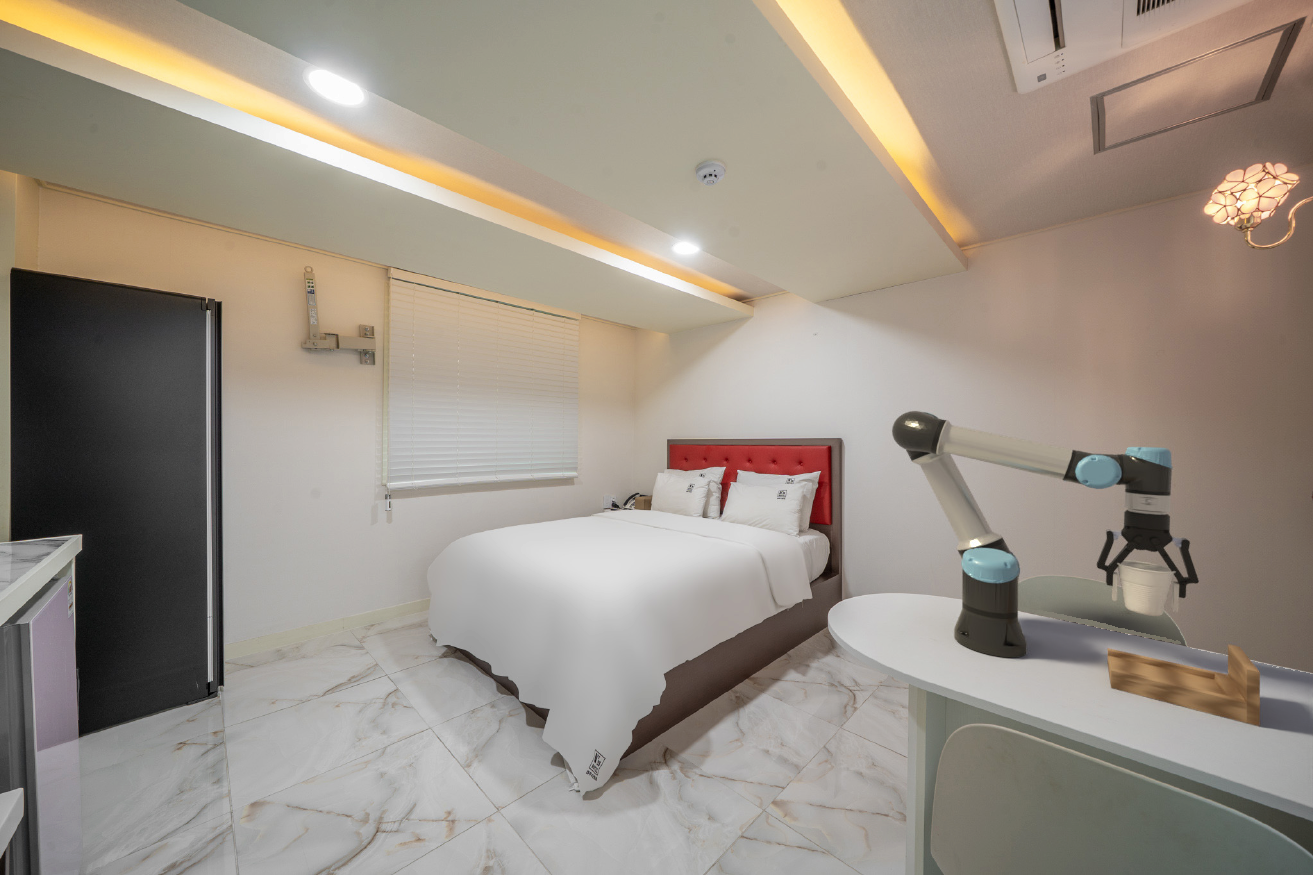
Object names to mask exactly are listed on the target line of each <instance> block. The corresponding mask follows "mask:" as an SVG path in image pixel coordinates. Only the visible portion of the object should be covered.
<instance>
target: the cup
mask: <svg viewBox="0 0 1313 875" xmlns="http://www.w3.org/2000/svg"><path fill="white" fill-rule="evenodd" d="M1117 564H1118V565H1119V566H1118V568H1117V570H1118V576H1119V580H1120V585H1121V590H1122V596H1123V601H1124V607H1125V608H1126V609H1127V610H1129V611H1131V612H1133V613H1136V614H1140V615H1145V616H1150V617H1160V616H1161V615H1163V613H1164V611H1165V610H1164V609H1165V607H1166V602H1167V598H1168V595H1169V592H1170V589H1171V587H1172V586H1171V585H1172V581H1173V579H1174V573H1175V571H1171V570H1170V568H1169V567H1168V566H1167V565H1162V564H1157V563H1153V562H1146V561H1138V560H1129V559H1128V560H1126V559H1125V560H1124V561H1123V562H1122V563H1121V564H1120V563H1117Z"/></svg>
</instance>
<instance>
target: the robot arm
mask: <svg viewBox="0 0 1313 875" xmlns="http://www.w3.org/2000/svg"><path fill="white" fill-rule="evenodd" d="M892 424H893V425H892V428H891V433H892V437H893V440H894V442H895V443H896V444H897V445H898V446H899V447H900V448H902V449H903V450H905V451H906V453H907V454H908V457H909V459H910V460H911V462H912V463H913V464H916V465H919V467H920V468H921V470H922V472H923V474H924V476H925V478H926V480H927V481H928V484H929V486H930V487H931V489H932V491H933V494H934V495H935V497H936V499H937V501H938V503H939V504H940V506H941V508H942V510H943V512H944V514H945V517H946V518H947V520H948V522H949V524H950V526H951V528H952V529H953V532H954V533H955V535H956V538H957V540H958V544H957V546H956V550H957V552H958V554H959V556H960V558H961V568H962V569H961V570H962V574H961V575H962V580H961V581H962V582H961V583H962V590H961V591H962V592H961V593H962V594H961V595H962V596H961V597H962V598H961V599H962V600H961V602H962V603H961V604H962V605H961V606H962V607H961V610H960V614H959V616H958V619H957V621H956V623H955V626H954V631H953V632H954V633H953V635H954V639H955V641H956V640H957V641H956V642H958V643H959V644H960V645H962V646H963V647H966V648H968V649H970V650H972V651H975V652H978V653H981V654H986V655H989V656H996V657H1002V658H1020V657H1021V658H1022V657H1024V656H1026V655H1027V653H1028V643H1027V640H1026V637H1025V635H1024V632H1023V628H1022V627H1021V624H1020V622H1019V577H1020V574H1021V568H1020V563H1019V560H1018V559H1017V557H1016V555H1015V554H1014V552H1012V551H1011V550H1010V548H1009V546H1008V545H1007V543H1006V541H1005V539H1004V538H1003V536H1002V535H1001V534H999V533H997V532H994V531H992V528H991V527H990V525H989V522H988V521H987V518H986V517H985V515H984V514H983V511H982V510H981V508H980V506H979V504H978V502H977V500H976V499H975V497H974V495H973V493H972V491H971V489H970V487H969V486H968V484H967V482H966V480H965V478H964V476H963V475H962V473H961V471H960V469H959V467H958V466H957V464H956V462H955V459H954V458H953V456H952V455H955V456H959V457H964V458H968V459H970V460H971V459H972V460H976V461H980V462H985V463H989V464H994V465H997V466H1001V467H1007V468H1011V469H1015V470H1019V471H1024V472H1028V473H1032V474H1036V475H1040V476H1044V477H1050V478H1054V479H1059V480H1062V481H1064V482H1069V483H1075V484H1078V485H1082V486H1085V487H1087V488H1091V489H1096V490H1103V489H1107V488H1111V487H1113V486H1115V485H1116V486H1117V485H1118V486H1124V488H1125V490H1124V508H1125V509H1126V510H1125V511H1124V512H1123V514H1124V515H1123V528H1122V529H1121V530H1112V529H1106V530H1105V536H1106V537H1105V538H1106V540H1105V542H1104V544H1103V547H1102V548H1101V552H1100V553H1099V554H1100V555H1099V556H1098V559H1097V561H1096V568H1097V569H1099V570H1103V571H1104V572H1105V575H1106V576H1105V584H1106V585H1107V586H1109V587H1111V600H1112V601H1113V602H1114V601H1115V602H1118V578H1119V577H1118V576H1119V573H1118V572H1116V570H1118V566H1119V565H1118V564H1117V563H1120V564H1121V563H1122V562H1123V561H1124V560H1126V558H1127V557H1128V556H1129V555H1130V554H1131V553H1132V552H1133V551H1134V550H1136V551H1147V552H1151V553H1152V552H1153V553H1156V552H1157V553H1159V555H1160V556H1161V559H1163V561H1164V563H1166V566H1167V567H1169V568H1170V570H1171V571H1175V573H1174V575H1173V577H1175V579H1176V580H1177V581H1175V580H1172V582H1171V585H1172V586H1171V587H1172V588H1171V610H1172V611H1173V612H1174V613H1179V606H1180V605H1179V601H1180V600H1179V599H1185V598H1186V596H1187V585H1189V584H1198V583H1199V578H1198V574H1197V572H1196V569H1195V565H1194V562H1193V560H1192V556H1191V553H1190V550H1189V549H1190V544H1191V542H1190V540H1189V539H1188V538H1185V537H1181V538H1180V537H1176V536H1173V535H1172V534H1171V532H1170V529H1171V528H1170V527H1171V516H1170V515H1169V514H1168V513H1169V512H1171V495H1172V494H1171V492H1172V471H1173V466H1172V465H1173V463H1172V452H1171V450H1170V449H1168V448H1166V447H1160V446H1159V447H1152V446H1150V447H1149V446H1129V447H1127V448H1126V451H1125V453H1123V454H1118V453H1117V454H1113V453H1111V454H1109V453H1091V452H1086V451H1081V450H1076V449H1071V448H1066V447H1061V446H1056V445H1051V444H1048V443H1042V442H1038V441H1032V440H1026V439H1022V438H1018V437H1012V436H1008V435H1002V434H997V433H992V432H989V431H988V432H987V431H982V430H976V429H974V428H973V429H972V428H967V427H963V426H958V425H953V424H952V423H951V422H950V421H949V420H947V419H942V418H939V417H937V416H936V415H935V414H933V413H930V412H925V411H920V410H919V411H918V410H911V411H907V412H905V413H903V414H901V415H899V416H898V417H897V418H896V419H895V421H894V423H892ZM1120 536H1121V537H1122V538H1123V539H1124V540H1125V542H1126V544H1125V545H1124V546H1123V547H1122V549H1121V550H1120V551H1119V552H1118V554H1117V555H1116V556H1115V557H1114V558H1113V560H1111V562H1110V563H1109V564H1108V565H1107V564H1106V563H1107V560H1108V558H1109V556H1110V553H1111V550H1112V548H1113V545H1114V543H1115V542H1114V541H1115V540H1118V539H1119V537H1120ZM1171 542H1172V543H1174V545H1175V547H1177V548H1178V549H1179V552H1180V556H1181V559H1182V562H1183V565H1184V567H1185V571H1186V573H1187V576H1184V575H1182V573H1181V571H1180V570H1179V568H1178V567H1177V565H1176V564H1175V562H1174V561H1173V560H1172V558H1171V556H1170V555H1169V554H1168V552H1167V551H1166V550H1165V547H1167V546H1168V545H1169V544H1171Z"/></svg>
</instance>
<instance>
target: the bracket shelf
mask: <svg viewBox="0 0 1313 875" xmlns="http://www.w3.org/2000/svg"><path fill="white" fill-rule="evenodd" d="M1106 650H1107V652H1106V653H1107V655H1106V656H1107V658H1106V659H1107V660H1106V661H1107V668H1108V669H1107V670H1108V675H1109V681H1110V689H1114V690H1119V691H1122V692H1125V693H1129V694H1133V695H1137V696H1141V697H1145V698H1148V699H1153V700H1157V701H1159V702H1160V701H1161V702H1164V703H1168V704H1172V705H1176V706H1180V707H1183V708H1186V709H1187V708H1188V709H1190V710H1191V709H1192V710H1195V711H1199V712H1203V713H1207V714H1210V715H1214V716H1218V717H1222V718H1226V719H1230V720H1234V721H1237V722H1241V723H1245V724H1249V725H1253V726H1255V727H1260V726H1261V720H1260V719H1261V716H1260V714H1261V711H1260V710H1261V709H1260V707H1261V706H1260V705H1261V702H1260V700H1261V685H1260V684H1261V672H1260V671H1259V669H1258V668H1257V667H1256V665H1255V664H1254V663H1253V662H1252V661H1251V659H1250V658H1249V657H1248V655H1247V654H1246V652H1244V650H1243V649H1242V648H1241V646H1237V645H1234V644H1227V673H1223V672H1218V671H1213V670H1210V669H1203V668H1200V667H1196V666H1191V665H1185V664H1182V663H1178V662H1177V663H1176V662H1173V661H1172V662H1171V661H1169V660H1163V659H1159V658H1154V657H1149V656H1145V655H1140V654H1135V653H1131V652H1126V651H1123V650H1118V649H1113V648H1109V647H1107V649H1106Z"/></svg>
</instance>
